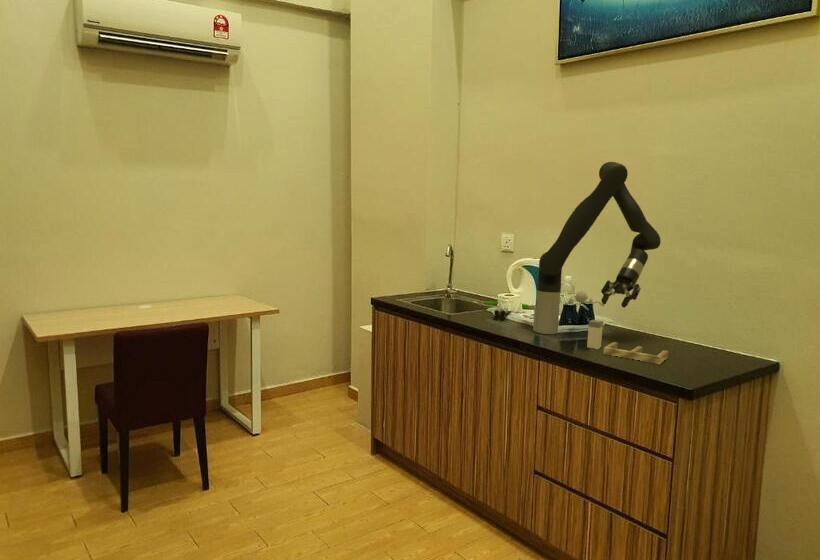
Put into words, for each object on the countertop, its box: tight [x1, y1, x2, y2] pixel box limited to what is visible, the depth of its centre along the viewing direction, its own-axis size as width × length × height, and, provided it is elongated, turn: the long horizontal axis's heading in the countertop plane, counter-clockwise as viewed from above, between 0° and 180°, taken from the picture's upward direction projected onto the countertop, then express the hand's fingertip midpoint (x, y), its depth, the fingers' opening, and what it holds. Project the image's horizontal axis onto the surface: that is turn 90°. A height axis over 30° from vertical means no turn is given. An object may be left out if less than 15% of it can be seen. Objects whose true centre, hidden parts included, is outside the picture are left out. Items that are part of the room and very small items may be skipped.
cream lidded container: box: [586, 319, 604, 350], centre depth 240 cm, size 4×4×10 cm
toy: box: [567, 290, 594, 305], centre depth 281 cm, size 11×7×15 cm, turn 84°
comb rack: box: [602, 341, 669, 365], centre depth 230 cm, size 20×12×2 cm, turn 56°
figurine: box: [476, 300, 537, 321], centre depth 298 cm, size 28×6×30 cm
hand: (612, 304), depth 247 cm, fingers open, 8 cm apart
